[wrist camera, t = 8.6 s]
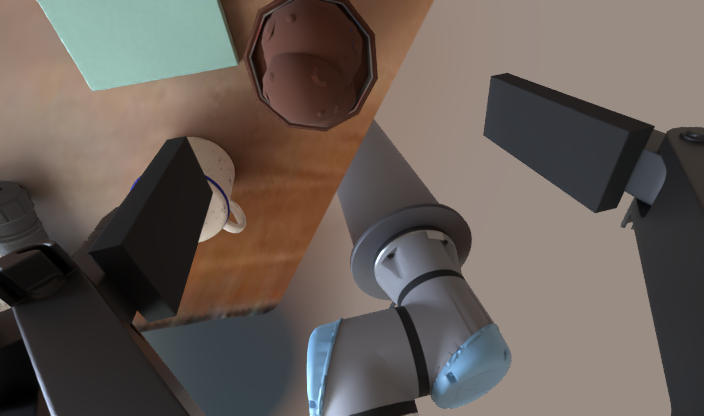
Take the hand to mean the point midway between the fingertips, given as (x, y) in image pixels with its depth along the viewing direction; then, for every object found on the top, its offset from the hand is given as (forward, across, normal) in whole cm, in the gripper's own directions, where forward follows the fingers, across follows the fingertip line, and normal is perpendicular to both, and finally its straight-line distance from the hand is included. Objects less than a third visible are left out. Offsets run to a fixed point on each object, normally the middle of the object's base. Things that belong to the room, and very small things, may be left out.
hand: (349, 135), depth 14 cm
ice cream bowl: (+25, 0, 0) cm, 25 cm away
